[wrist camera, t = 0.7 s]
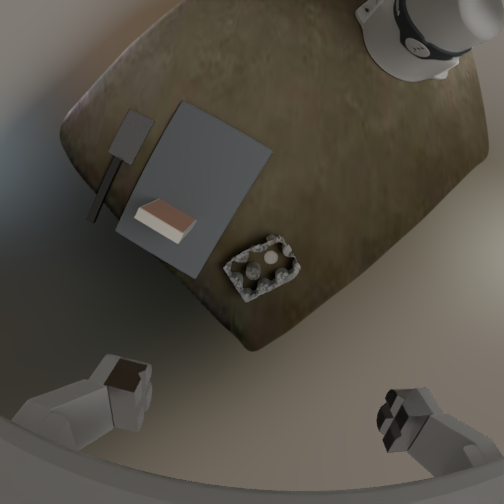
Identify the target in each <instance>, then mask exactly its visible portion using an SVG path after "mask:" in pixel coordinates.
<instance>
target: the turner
mask: <svg viewBox="0 0 504 504" xmlns="http://www.w3.org/2000/svg"><path fill="white" fill-rule="evenodd" d="M154 122H155V121H153V120H151V119H149V118H147V117H145V116H143V115H141V114H139V113H138V112H136V111H134V110H132V109H130V110H129V112H128V114H127V115H126V117H125V119H124V121H123V123H122V125H121V127H120V129H119V131H118V133H117V134H116V136H115V138H114V140H113V142H112V144H111V147H110V149H109V151H108V152H109V153H110V154H112V155H114V156H116V157H114V158H113V160H112V163H111V165H110V167H109V169H108V171H107V173H106V175H105V178H104V180H103V182H102V184H101V187H100V189H99V191H98V194H97V196H96V198H95V201H94V203H93V205H92V208H91V210H90V213H89V215H88V218H87V220H88V221H90V222H91V223H95V222H96V220H97V217H98V215H99V213H100V210H101V208H102V206H103V203H104V201H105V198H106V196H107V194H108V192H109V189H110V187H111V185H112V183H113V181H114V178H115V176H116V174H117V172H118V170H119V168H120V166H121V164H122V162H123V161H124V162H126V163H128V164H130V165H132V164H133V162H134V160H135V158H136V156H137V154H138V152H139V150H140V148H141V146H142V144H143V143H144V141H145V139H146V137H147V135H148V133H149V131H150V130H151V128H152V126H153V124H154Z"/></svg>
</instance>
